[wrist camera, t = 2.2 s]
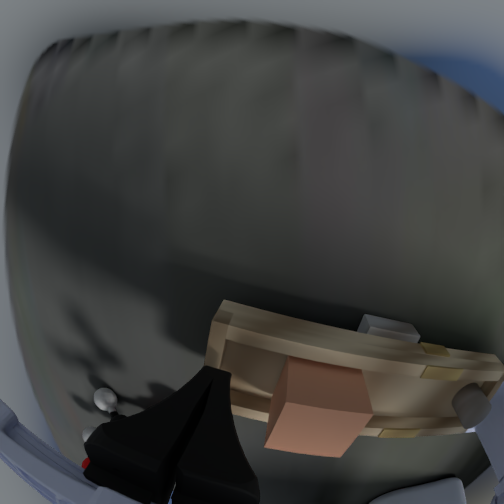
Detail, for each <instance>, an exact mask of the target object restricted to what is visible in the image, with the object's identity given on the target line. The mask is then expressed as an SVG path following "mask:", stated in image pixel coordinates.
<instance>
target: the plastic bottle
mask: <svg viewBox="0 0 504 504" xmlns="http://www.w3.org/2000/svg"><path fill="white" fill-rule="evenodd" d="M369 504H467V503H466V498H465V494H464V489H463V485H462V481H461V480H460V479H459V478H456V477H450V478H446V479H442V480H438V481H434V482H430V483H426V484H422V485H418V486H413V487H408V488H403V489H398V490H395V491H392V492H389V493H386V494H384V495H381V496H379V497H377V498H376V499H374V500H372V501H371V502H370V503H369Z"/></svg>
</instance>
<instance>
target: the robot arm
mask: <svg viewBox="0 0 504 504" xmlns="http://www.w3.org/2000/svg"><path fill="white" fill-rule="evenodd" d="M231 377H232V374H231V373H230V372H228V371H224V370H221V369H217V368H214V367H211V366H207V365H205V366H203V367H202V369H201V370H200V371H199V372H198V373H197V374H196V375H195V376H194V377H193V378H192V379H191V380H190V381H189V382H187V383H186V384H185V385H184V386H183V387H182V388H180V389H179V390H178V391H176V392H175V393H174V394H172V395H171V396H169V397H168V398H166V399H165V400H163V401H162V402H160V403H158V404H156V405H154V406H153V407H151V408H148V409H146V410H144V411H142V412H140V413H137V414H135V415H132V416H129V417H126V418H123V419H120V420H116V421H111V422H107V423H102V424H101V425H100V426H98V427H97V428H96V429H95V430H94V431H93V432H92V434H91V435H90V436H89V438H88V439H87V440H86V442H85V443H84V447H85V451H86V453H87V455H88V457H89V460H90V463H89V464H88V466H87V467H86V469H84V468H82V467H80V466H79V465H77V464H76V463H74V462H72V461H71V460H69V459H68V458H66V457H65V456H63V455H62V454H60V453H59V452H57V451H56V450H54V449H53V448H52V447H50V446H49V445H48V444H46V443H45V442H44V441H42V440H41V439H39V438H38V437H37V436H36V435H34V434H33V433H32V432H31V431H29V430H28V429H27V428H26V427H25V426H23V425H22V424H21V423H20V422H19V421H18V419H17V416H16V415H15V413H14V412H13V411H12V410H11V409H10V408H9V407H8V406H7V405H6V404H5V403H4V402H3V401H2V400H1V399H0V458H1V459H2V460H3V461H4V462H5V463H6V464H7V465H8V466H9V467H10V468H11V469H12V470H13V471H14V472H15V473H16V474H17V475H19V476H20V477H21V478H22V479H23V480H24V481H25V482H27V483H28V484H29V485H30V486H31V487H32V488H34V489H35V490H36V491H37V492H38V493H40V494H41V495H42V496H44V497H45V498H46V499H47V500H49V501H50V502H52V503H53V504H168V502H169V499H170V496H171V493H172V491H173V488H174V485H175V482H176V487H175V489H174V491H173V494H172V496H171V499H172V504H259V501H260V490H259V484H258V480H257V477H256V475H255V473H254V472H253V470H252V468H251V466H250V465H249V463H248V461H247V459H246V457H245V454H244V452H243V449H242V447H241V444H240V442H239V439H238V436H237V433H236V429H235V425H234V421H233V415H232V409H231V400H230V382H231ZM490 404H491V405H492V408H491V411H490V413H489V414H488V416H487V417H486V418H485V419H484V420H483V421H482V422H481V423H479V424H478V425H476V426H475V427H473V428H470V429H468V430H467V431H466V432H465V433H467V432H475V431H476V433H477V435H478V437H479V439H480V441H481V443H482V445H483V447H484V449H485V451H486V454H487V456H488V458H489V460H490V462H491V465H492V467H493V469H494V471H495V474H496V476H497V479H498V481H499V484H498V485H497V486H496V487H495V488H494V491H495V493H496V494H495V496H494V497H493V499H492V501H491V504H504V381H503V383H502V384H501V386H500V387H499V389H498V390H497V392H496V393H495V395H494V396H493V398H492V399H491V400H490Z"/></svg>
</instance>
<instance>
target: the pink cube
mask: <svg viewBox="0 0 504 504" xmlns="http://www.w3.org/2000/svg"><path fill="white" fill-rule="evenodd" d="M373 415H374V414H373V410H372V406H371V402H370V398H369V394H368V391H367V387H366V383H365V380H364V376H363V373H362V369H356V368H350V367H345V366H339V365H334V364H328V363H323V362H318V361H313V360H309V359H304V358H299V357H295V356H290V355H288V357H287V359H286V362H285V365H284V367H283V370H282V372H281V375H280V378H279V380H278V383H277V385H276V388H275V390H274V393H273V395H272V398H271V403H270V410H269V417H268V424H267V431H266V437H265V444H264V447H266V448H271V449H276V450H282V451H288V452H295V453H302V454H310V455H318V456H329V457H341V456H342V455H343V453H344V452H345V451H346V450H347V449H348V447H349V446H350V445H351V444H352V442H353V441H354V440H355V439H356V437H357V436H358V435H359V434H360V432H361V431H362V430H363V428H364V427H365V426H366V424H367V423H368V422H369V420H370V419H371V417H372V416H373Z"/></svg>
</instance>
